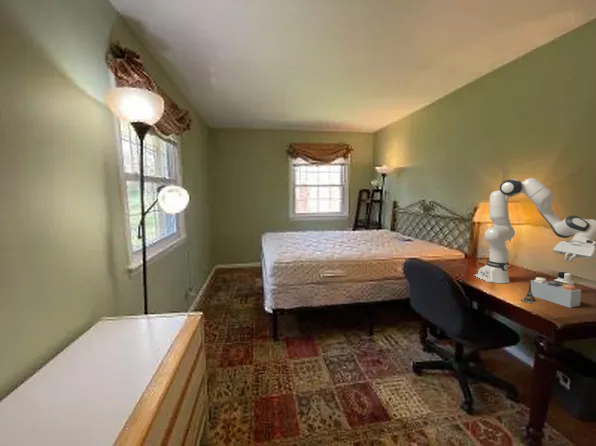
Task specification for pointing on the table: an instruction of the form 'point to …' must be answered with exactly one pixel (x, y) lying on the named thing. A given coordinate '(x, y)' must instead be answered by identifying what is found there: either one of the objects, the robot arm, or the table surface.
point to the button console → (556, 294)
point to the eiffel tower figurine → (529, 296)
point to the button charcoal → (554, 283)
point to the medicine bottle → (564, 278)
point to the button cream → (540, 280)
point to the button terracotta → (569, 287)
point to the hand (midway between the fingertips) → (567, 260)
